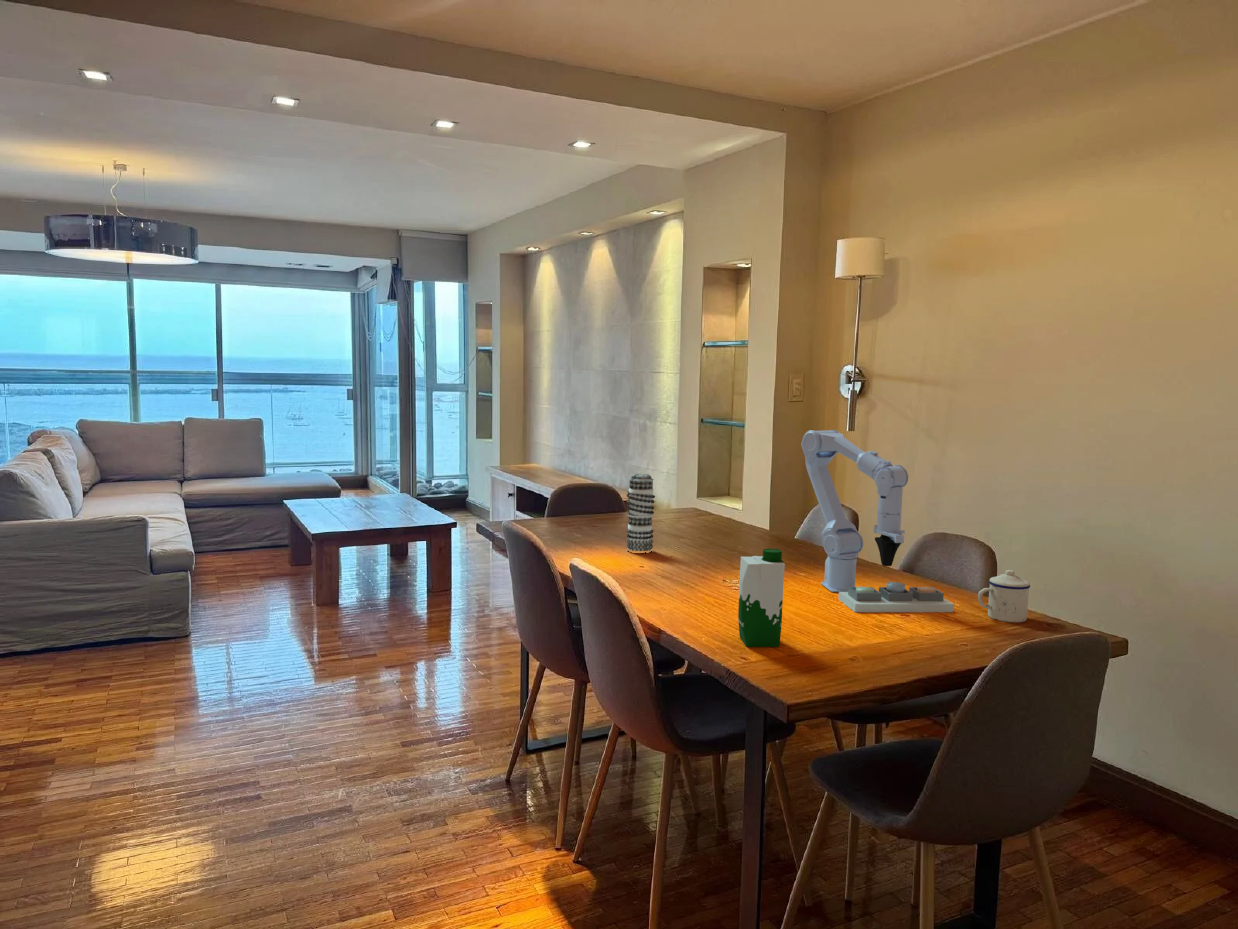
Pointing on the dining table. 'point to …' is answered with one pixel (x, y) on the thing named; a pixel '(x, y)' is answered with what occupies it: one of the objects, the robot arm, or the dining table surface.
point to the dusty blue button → (895, 587)
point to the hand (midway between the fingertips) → (886, 565)
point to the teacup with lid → (1007, 597)
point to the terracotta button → (926, 590)
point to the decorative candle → (640, 512)
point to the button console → (895, 601)
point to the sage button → (864, 590)
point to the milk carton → (761, 599)
